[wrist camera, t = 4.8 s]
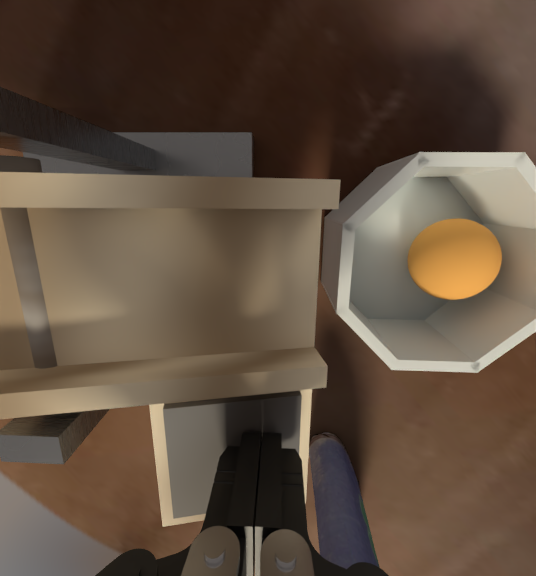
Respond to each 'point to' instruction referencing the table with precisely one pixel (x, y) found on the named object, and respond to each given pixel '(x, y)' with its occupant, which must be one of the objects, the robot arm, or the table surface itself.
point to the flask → (339, 505)
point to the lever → (164, 309)
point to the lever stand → (100, 160)
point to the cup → (395, 247)
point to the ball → (454, 259)
